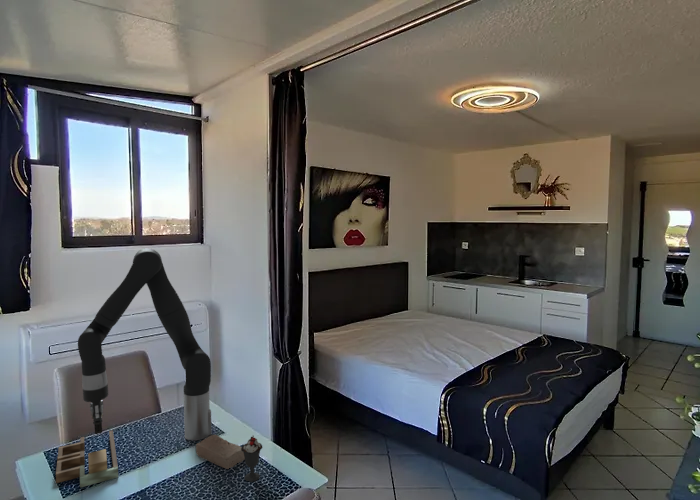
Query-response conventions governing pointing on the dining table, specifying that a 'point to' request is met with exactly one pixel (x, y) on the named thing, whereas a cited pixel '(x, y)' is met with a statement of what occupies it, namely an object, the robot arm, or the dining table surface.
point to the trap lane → (74, 459)
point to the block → (97, 461)
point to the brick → (220, 451)
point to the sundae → (251, 457)
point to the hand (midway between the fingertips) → (98, 432)
